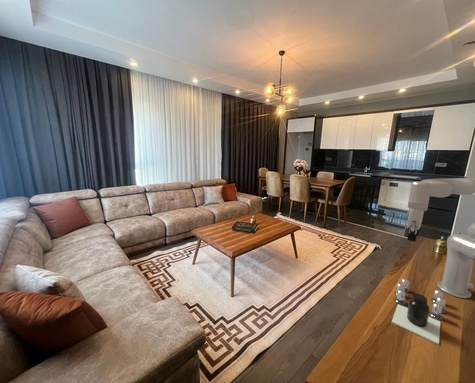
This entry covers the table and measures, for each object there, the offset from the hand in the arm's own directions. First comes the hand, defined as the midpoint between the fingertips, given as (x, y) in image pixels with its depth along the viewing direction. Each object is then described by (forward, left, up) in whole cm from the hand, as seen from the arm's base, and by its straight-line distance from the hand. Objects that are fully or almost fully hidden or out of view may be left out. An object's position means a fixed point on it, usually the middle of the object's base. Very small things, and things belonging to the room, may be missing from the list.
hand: (412, 237), depth 106 cm
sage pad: (+16, +20, -30) cm, 39 cm away
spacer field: (+2, +9, -30) cm, 32 cm away
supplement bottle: (+16, +19, -30) cm, 39 cm away
